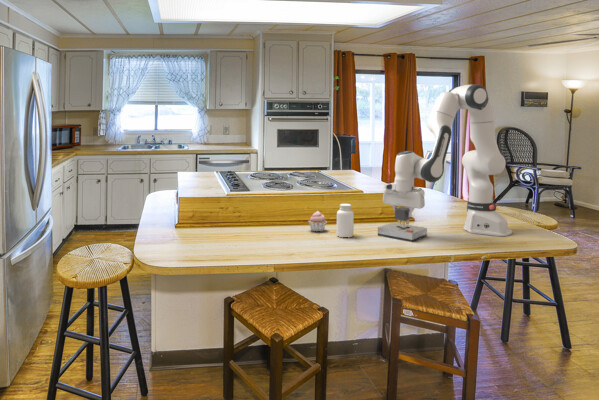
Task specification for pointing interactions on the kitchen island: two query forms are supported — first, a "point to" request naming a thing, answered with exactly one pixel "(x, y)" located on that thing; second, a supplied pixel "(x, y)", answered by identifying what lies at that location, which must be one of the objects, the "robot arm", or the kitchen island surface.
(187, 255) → the kitchen island surface
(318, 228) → the cupcake
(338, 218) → the pill bottle
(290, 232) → the kitchen island surface
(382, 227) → the socket
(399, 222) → the plug
